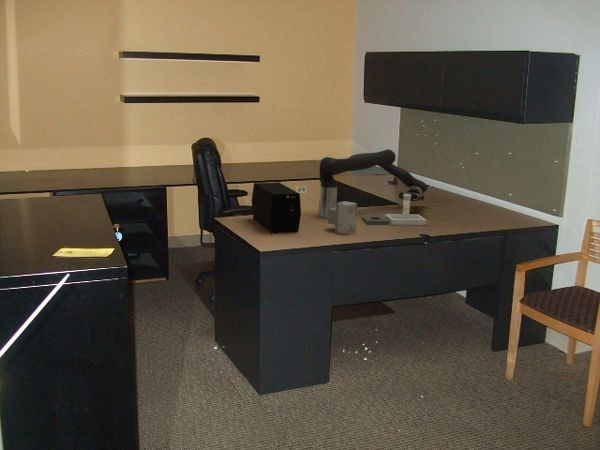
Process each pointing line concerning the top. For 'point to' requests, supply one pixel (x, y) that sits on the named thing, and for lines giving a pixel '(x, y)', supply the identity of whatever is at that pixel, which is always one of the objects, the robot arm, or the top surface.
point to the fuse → (406, 206)
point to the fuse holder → (375, 220)
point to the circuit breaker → (343, 217)
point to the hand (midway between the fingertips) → (409, 198)
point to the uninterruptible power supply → (276, 207)
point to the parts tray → (397, 219)
